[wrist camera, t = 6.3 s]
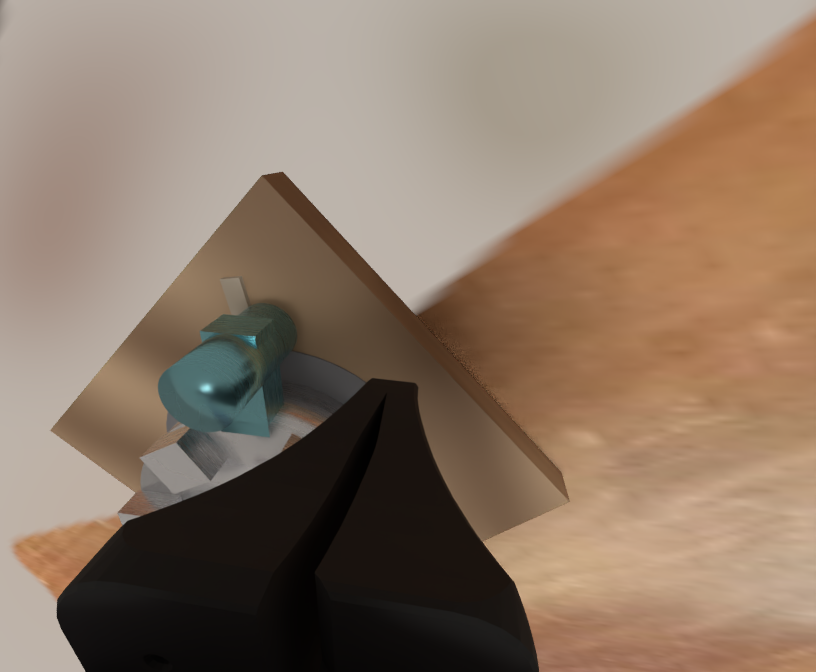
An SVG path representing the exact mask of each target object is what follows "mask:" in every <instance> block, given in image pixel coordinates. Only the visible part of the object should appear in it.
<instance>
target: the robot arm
mask: <svg viewBox="0 0 816 672" xmlns="http://www.w3.org/2000/svg"><path fill="white" fill-rule="evenodd" d="M57 619H58V621H59V624H60V627H61V629H62V631H63V633H64V635H65V636H66V638H67V640H68V641H69V643H70V645H71V647H72V648H73V650H74V652H75V654H76V655H77V657H78V659H79V660H80V662H81V664H82V666H83V668H84V669H85V672H539V667H538V660H537V654H536V650H535V646H534V641H533V637H532V634H531V630H530V626H529V623H528V620H527V616H526V613H525V610H524V607H523V604H522V602H521V599H520V596H519V593H518V591H517V588H516V585H515V583H514V581H513V580H512V579H511V578H510V577H509V575H508V574H507V573H506V572H505V571H504V569H503V568H502V567H501V566H500V565H499V563H498V562H497V561H496V559H495V558H494V557H493V556H492V554H491V553H490V552H489V550H488V549H487V548H486V546H485V545H484V544H483V542H482V541H481V539H480V538H479V537H478V535H477V534H476V532H475V531H474V530H473V528H472V527H471V525H470V523H469V522H468V520H467V519H466V517H465V515H464V514H463V512H462V511H461V509H460V507H459V506H458V504H457V503H456V501H455V499H454V498H453V496H452V494H451V492H450V490H449V488H448V487H447V485H446V483H445V481H444V479H443V477H442V475H441V472H440V470H439V468H438V466H437V464H436V461H435V459H434V457H433V454H432V451H431V449H430V446H429V443H428V441H427V437H426V434H425V431H424V427H423V424H422V420H421V416H420V411H419V405H418V386H417V384H416V383H413V382H404V381H395V380H386V379H377V378H371V379H370V380H369V381H368V382H366V383H365V384H364V385H363V386H362V387H361V388H360V389H359V390H358V391H357V392H356V393H355V394H354V395H353V396H352V397H351V398H350V399H349V400H348V401H347V402H346V403H345V404H343V405H342V406H341V407H340V408H339V409H338V410H337V411H336V412H334V413H333V414H332V415H331V416H330V417H329V418H328V419H326V420H325V421H324V422H323V423H321V424H320V425H319V426H317V427H316V428H315V429H314V430H312V431H311V432H310V433H309V434H307V435H306V436H305V437H303V438H302V439H300V440H299V441H298V442H296V443H295V444H293V445H292V446H290V447H289V448H287V449H286V450H284V451H282V452H281V453H279V454H278V455H276V456H274V457H273V458H271V459H269V460H267V461H265V462H264V463H262V464H260V465H258V466H256V467H254V468H252V469H251V470H249V471H247V472H245V473H243V474H241V475H240V476H238V477H236V478H233V479H231V480H229V481H227V482H225V483H223V484H221V485H219V486H216V487H214V488H212V489H210V490H207V491H205V492H203V493H200V494H198V495H196V496H193V497H191V498H188V499H186V500H183V501H181V502H178V503H175V504H173V505H170V506H167V507H164V508H162V509H159V510H156V511H153V512H151V513H148V514H145V515H143V516H140V517H137V518H134V519H131V520H128V521H127V522H126V523H125V524H124V525H123V526H122V527H121V528H120V529H119V530H118V531H117V532H116V533H115V534H114V535H113V536H112V537H111V538H110V539H109V540H108V541H107V543H106V544H105V545H104V546H103V547H102V548H101V549H100V550H99V552H98V553H97V554H96V555H95V556H94V557H93V558H92V559H91V560H90V562H89V563H88V564H87V565H86V566H85V567H84V568H83V569H82V571H81V572H80V573H79V574H78V575H77V576H76V577H75V578H74V580H73V581H72V582H71V583H70V584H69V585H68V586H67V587H66V588H65V590H64V591H63V592H62V594H61V595H60V596H59V598H58V599H57Z"/></svg>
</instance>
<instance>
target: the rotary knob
mask: <svg viewBox="0 0 816 672" xmlns="http://www.w3.org/2000/svg"><path fill="white" fill-rule="evenodd" d="M200 336H201V340H202V343H201V344H200V345H198V346H197V347H196V348H194V349H193V350H192V351H190V352H189V353H188V354H186V355H185V356H184V357H183V358H181V359H180V360H179V361H177V362H176V363H175V364H173V365H172V366H171V367H170V368H168V369H167V370H166V371H165V372H163V374H162V375H161V377H160V379H159V382H158V393H159V397H160V400H161V402H162V404H163V405H164V407H165V408H166V410H167V411H168V412H169V413H170V414H171V415H172V416H173V417H174V418H175V419H176V420H177V421H179V422H178V423H177V424H176V425H175V426H174V427H172V428H171V429H170V430H169V431H168V432H167V433H166V434H165V435H163V436H161V437H160V438H159V439H158V440H157V441H156V442H155V443H154V444H153V445H152V446H151V447H150V448H149V449H148V450H147V451H146V452H145V453H144V454H143V455H142V456H140V457H139V458H140V459H141V460H142V461H143V462H144V464H143V467H142V471H141V481H140V484H141V490H138V491H137V492H136V493H135V495H134V496H133V497H132V498H131V499H130V500H129V501H128V502H127V503H126V504H125V505H124V506H123V507H122V508H121V509H120V511H119V512H118V515H119V518H120V520H121V523H122V525H124V524H125V523H126V522H127V521H128V520H131V519H134V518H137V517H140V516H143V515H145V514H148V513H151V512H153V511H156V510H159V509H162V508H164V507H167V506H170V505H173V504H175V503H178V502H181V501H183V500H186V499H188V498H191V497H193V496H196V495H198V494H200V493H203V492H205V491H207V490H210V489H212V488H214V487H216V486H219V485H221V484H223V483H225V482H227V481H229V480H231V479H233V478H236V477H238V476H240V475H241V474H243V473H245V472H247V471H249V470H251V469H252V468H254V467H256V466H258V465H260V464H262V463H264V462H265V461H267V460H269V459H271V458H273V457H274V456H276V455H278V454H279V453H281V452H282V451H284V450H286V449H287V448H289V447H290V446H292V445H293V444H295V443H296V442H298V441H299V440H300V439H302V438H303V437H305V436H306V435H307V434H309V433H310V432H311V431H312V430H314V429H315V428H316V427H317V426H319V425H320V424H321V423H323V422H324V421H325V420H326V419H328V418H329V417H330V416H331V415H332V414H333V413H334V412H336V411H337V410H338V409H339V408H340V407H341V406H342V405H343V403H341V402H340V401H338V400H336V399H334V398H332V397H330V396H328V395H327V394H325V393H322V392H320V391H317V390H315V389H312V388H310V387H307V386H303V385H300V384H296V383H293V382H287V381H281V373H280V364H281V363H282V362H283V360H284V359H285V358H286V357H287V356H288V354H289V353H290V352H291V351H292V350H293V348H294V347H295V345H296V342H297V330H296V326H295V324H294V322H293V320H292V319H291V318H290V316H289V315H288V314H287V313H286V312H285V311H283V310H282V309H281V308H279V307H277V306H275V305H272V304H268V303H257V304H253V305H251V306H249V307H248V308H246V309H245V310H244V311H243V312H241V313H240V314H239V315H227V314H223V315H221V316H220V317H218V318H217V319H216V320H214V321H213V322H212V323H210V324H209V325H207V326H206V327H205V328H203V329H202V330H200Z"/></svg>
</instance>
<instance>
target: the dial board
mask: <svg viewBox="0 0 816 672" xmlns="http://www.w3.org/2000/svg"><path fill="white" fill-rule="evenodd" d="M257 303H268V304H272V305H275V306H277V307H279V308H281V309H282V310H283V311H285V312H286V313H287V314H288V315H289V316H290V318H291V319H292V320H293V322H294V324H295V326H296V330H297V342H296V345H295V347H294V348H293V350H292V351H291V352H290V353H289V354H288V356H287V357H286V358H285V359H284V360H283V362H282V363H281V364H280V373H281V381H287V382H293V383H296V384H300V385H303V386H307V387H310V388H312V389H315V390H317V391H320V392H322V393H325V394H327V395H328V396H330V397H332V398H334V399H336V400H338V401H340V402H341V403H343V404H345V403H346V402H347V401H348V400H349V399H350V398H351V397H352V396H353V395H354V394H355V393H356V392H357V391H358V390H359V389H360V388H361V387H362V386H363V385H364V384H365V383H366V382H368V381H369V380H370V379H371V378H377V379H386V380H395V381H404V382H413V383H416V384H417V386H418V405H419V411H420V416H421V420H422V424H423V427H424V431H425V434H426V437H427V441H428V443H429V446H430V449H431V451H432V454H433V457H434V459H435V461H436V464H437V466H438V468H439V470H440V472H441V475H442V477H443V479H444V481H445V483H446V485H447V487H448V488H449V490H450V492H451V494H452V496H453V498H454V499H455V501H456V503H457V504H458V506H459V507H460V509H461V511H462V512H463V514H464V515H465V517H466V519H467V520H468V522H469V523H470V525H471V527H472V528H473V530H474V531H475V532H476V534H477V535H478V537H479V538H480V539H481V541H484V540H486V539H489V538H491V537H493V536H495V535H497V534H500V533H502V532H504V531H506V530H509V529H511V528H513V527H515V526H517V525H520V524H522V523H524V522H526V521H528V520H531V519H533V518H535V517H537V516H540V515H542V514H544V513H546V512H548V511H551V510H553V509H555V508H557V507H560V506H562V505H564V504H566V503H568V502H570V501H569V498H568V494H567V490H566V487H565V483H564V480H563V476H562V473H561V472H560V471H559V470H558V469H557V468H556V467H555V466H554V465H553V464H552V462H551V461H550V460H549V459H548V458H547V457H546V456H545V455H544V454H543V453H542V452H541V451H540V450H539V448H538V447H537V446H536V445H535V444H534V443H533V442H532V441H531V440H530V439H529V438H528V437H527V435H526V434H525V433H524V432H523V431H522V430H521V429H520V428H519V427H518V426H517V425H516V424H515V422H514V421H513V420H512V419H511V418H510V417H509V416H508V415H507V414H506V413H505V412H504V411H503V409H502V408H501V407H500V406H499V405H498V404H497V403H496V402H495V401H494V400H493V399H492V398H491V397H490V395H489V394H488V393H487V392H486V391H485V390H484V389H483V388H482V387H481V386H480V385H479V384H478V382H477V381H476V380H475V379H474V378H473V377H472V376H471V375H470V374H469V373H468V372H467V371H466V369H465V368H464V367H463V366H462V365H461V364H460V363H459V362H458V361H457V360H456V359H455V358H454V356H453V355H452V354H451V353H450V352H449V351H448V350H447V349H446V348H445V347H444V346H443V345H442V344H441V342H440V341H439V340H438V339H437V338H436V337H435V336H434V335H433V334H432V333H431V332H430V331H429V329H428V328H427V327H426V326H425V325H424V324H423V323H422V322H421V321H420V320H419V319H418V318H417V316H416V315H415V314H414V313H413V312H412V311H411V310H410V309H409V308H408V307H407V306H406V305H405V303H404V302H403V301H402V300H401V299H400V298H399V297H398V296H397V295H396V294H395V293H394V292H393V291H392V290H391V288H390V287H389V286H388V285H387V284H386V283H385V282H384V281H383V280H382V279H381V278H380V277H379V275H378V274H377V273H376V272H375V271H374V270H373V269H372V268H371V267H370V266H369V265H368V264H367V262H366V261H365V260H364V259H363V258H362V257H361V256H360V255H359V254H358V253H357V252H356V250H354V248H353V247H352V246H351V245H350V244H349V243H348V242H347V241H346V240H345V239H344V238H343V236H342V235H341V234H340V233H339V232H338V231H337V230H336V229H335V228H334V227H333V226H332V225H331V223H329V221H328V220H327V219H326V218H325V217H324V216H323V215H322V214H321V213H320V212H319V211H318V210H317V208H316V207H315V206H314V205H313V204H312V203H311V202H310V201H309V200H308V199H307V198H306V196H305V195H304V194H303V193H302V192H301V191H300V190H299V189H298V188H297V187H296V186H295V185H294V183H293V182H292V181H291V180H290V179H289V178H288V177H287V176H286V175H285V174H284V173H283V172H279V173H273V174H268V175H262V176H261V177H260V178H259V179H258V181H257V182H256V183H255V184H254V186H253V187H252V188H251V189H250V190H249V192H248V193H247V194H246V195H245V197H244V198H243V199H242V200H241V201H240V202H239V204H238V205H237V206H236V207H235V208H234V210H233V211H232V212H231V213H230V214H229V216H228V217H227V218H226V219H225V221H224V222H223V223H222V224H221V225H220V227H219V228H218V229H217V230H216V231H215V233H214V234H213V235H212V236H211V237H210V239H209V240H208V241H207V242H206V243H205V245H204V246H203V247H202V248H201V249H200V251H199V252H198V253H197V254H196V255H195V257H194V258H193V259H192V260H191V262H190V263H189V264H188V265H187V266H186V268H185V269H184V270H183V271H182V272H181V273H180V275H179V276H178V277H177V278H176V279H175V281H174V282H173V283H172V285H171V286H170V287H169V288H168V289H167V290H166V292H165V293H164V294H163V295H162V296H161V298H160V299H159V300H158V301H157V302H156V304H155V305H154V306H153V307H152V308H151V310H150V311H149V312H148V313H147V314H146V316H145V317H144V318H143V319H142V321H141V322H140V323H139V324H138V325H137V326H136V328H135V329H134V330H133V331H132V333H131V334H130V335H129V336H128V337H127V339H126V340H125V341H124V342H123V343H122V345H121V346H120V347H119V348H118V349H117V351H116V352H115V353H114V354H113V355H112V357H111V358H110V359H109V360H108V362H107V363H106V364H105V365H104V366H103V367H102V369H101V370H100V371H99V372H98V374H97V375H96V376H95V377H94V378H93V379H92V381H91V382H90V383H89V384H88V386H87V387H86V388H85V389H84V390H83V392H82V393H81V394H80V395H79V396H78V398H77V399H76V400H75V401H74V402H73V404H72V405H71V406H70V407H69V408H68V410H67V411H66V412H65V413H64V414H63V416H62V417H61V418H60V419H59V420H58V422H57V423H56V424H55V425H54V426H53V428H52V429H51V431H52V432H53V433H55V434H56V435H57V436H59V437H60V438H61V439H63V440H64V441H65V442H67V443H68V444H70V445H71V446H72V447H74V448H75V449H76V450H78V451H79V452H81V453H82V454H83V455H85V456H86V457H87V458H89V459H90V460H92V461H93V462H94V463H96V464H97V465H98V466H100V467H101V468H103V469H104V470H105V471H107V472H108V473H109V474H111V475H112V476H114V477H115V478H116V479H118V480H119V481H120V482H122V483H123V484H125V485H126V486H127V487H129V488H130V489H131V490H133V491H134V492H137V491H138V490H141V484H140V481H141V471H142V467H143V464H144V462H143V461H142V460H141V459H140V458H139V457H140V456H142V455H143V454H144V453H145V452H146V451H147V450H148V449H149V448H150V447H151V446H152V445H153V444H154V443H155V442H156V441H157V440H158V439H159V438H160V437H161V436H163V435H165V434H166V433H167V432H168V431H169V430H170V429H171V428H172V427H174V426H175V425H176V424H177V423H178V422H179V421H177V420H176V419H175V418H174V417H173V416H172V415H171V414H170V413H169V412H168V411H167V410H166V408H165V407H164V405H163V404H162V402H161V400H160V397H159V393H158V382H159V379H160V377H161V375H162V374H163V372H165V371H166V370H167V369H168V368H170V367H171V366H172V365H173V364H175V363H176V362H177V361H179V360H180V359H181V358H183V357H184V356H185V355H186V354H188V353H189V352H190V351H192V350H193V349H194V348H196V347H197V346H198V345H200V344H201V343H202V340H201V336H200V330H202V329H203V328H205V327H206V326H207V325H209V324H210V323H212V322H213V321H214V320H216V319H217V318H218V317H220V316H221V315H223V314H227V315H239V314H240V313H241V312H243V311H244V310H245V309H246V308H248V307H249V306H251V305H253V304H257Z"/></svg>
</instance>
